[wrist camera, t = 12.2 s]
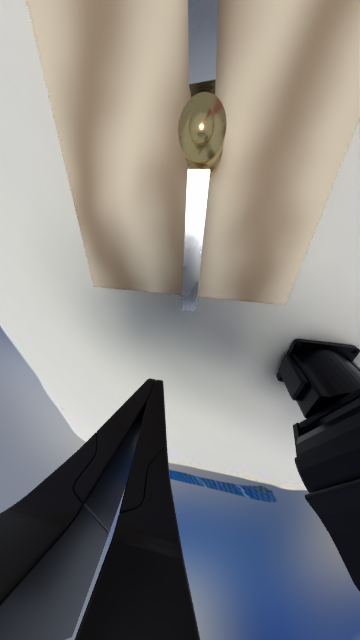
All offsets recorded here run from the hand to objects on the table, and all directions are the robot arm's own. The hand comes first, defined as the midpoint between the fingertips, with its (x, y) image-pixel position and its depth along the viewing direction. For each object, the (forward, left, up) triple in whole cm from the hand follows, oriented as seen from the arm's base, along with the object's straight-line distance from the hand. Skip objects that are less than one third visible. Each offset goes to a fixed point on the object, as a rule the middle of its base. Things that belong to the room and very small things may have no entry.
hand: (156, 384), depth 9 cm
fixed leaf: (-1, -8, -10) cm, 13 cm away
